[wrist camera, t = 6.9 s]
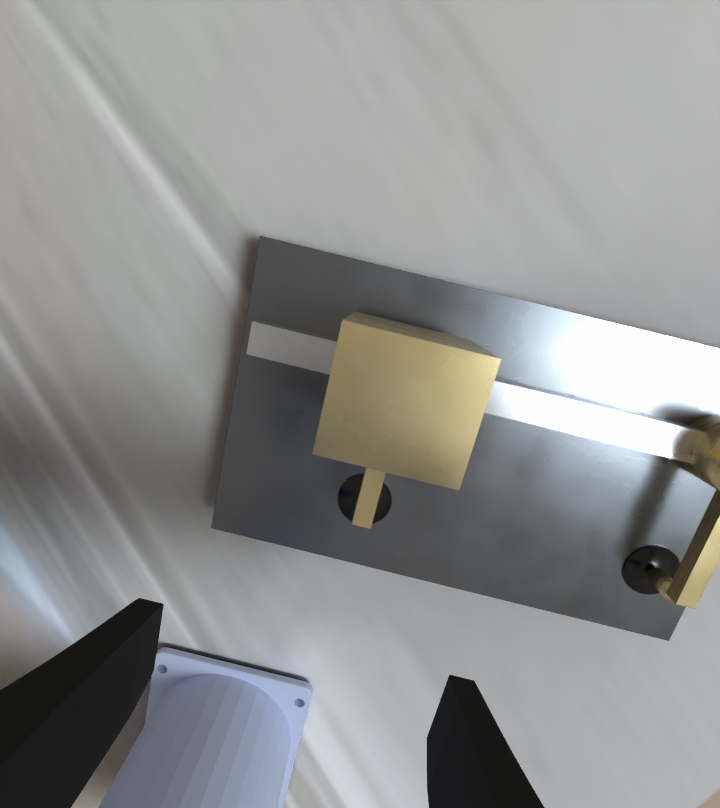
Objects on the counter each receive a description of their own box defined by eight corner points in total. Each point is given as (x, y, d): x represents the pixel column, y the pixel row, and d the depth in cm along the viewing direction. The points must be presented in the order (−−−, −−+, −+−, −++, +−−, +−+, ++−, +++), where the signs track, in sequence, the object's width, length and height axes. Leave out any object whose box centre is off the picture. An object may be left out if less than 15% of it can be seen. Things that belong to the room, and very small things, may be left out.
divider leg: (410, 523, 18) (418, 616, 13) (313, 499, 18) (283, 582, 13) (465, 336, 16) (501, 358, 11) (357, 310, 16) (342, 319, 11)
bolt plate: (648, 615, 21) (709, 691, 17) (223, 510, 21) (185, 562, 17) (770, 362, 17) (878, 383, 14) (270, 240, 18) (237, 226, 14)
